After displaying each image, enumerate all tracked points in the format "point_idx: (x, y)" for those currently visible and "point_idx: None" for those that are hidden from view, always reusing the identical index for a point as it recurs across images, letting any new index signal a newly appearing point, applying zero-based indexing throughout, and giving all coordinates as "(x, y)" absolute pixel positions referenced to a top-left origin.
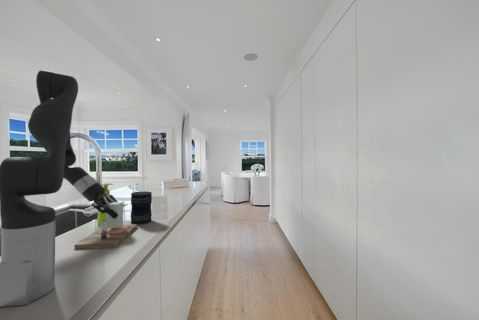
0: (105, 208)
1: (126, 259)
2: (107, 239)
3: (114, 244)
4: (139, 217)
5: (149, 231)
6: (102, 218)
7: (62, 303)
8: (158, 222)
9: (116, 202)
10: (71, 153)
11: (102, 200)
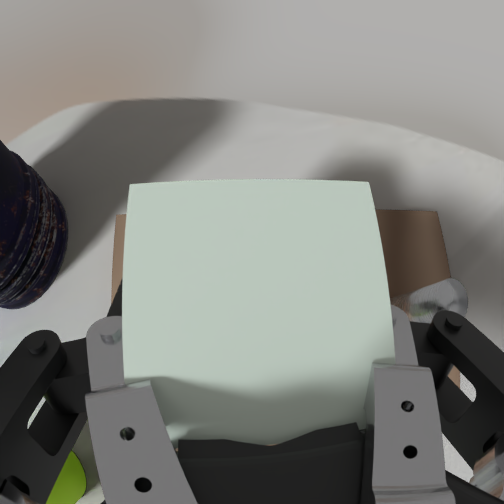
0: (473, 329)
1: (475, 154)
2: (406, 279)
3: (435, 220)
4: (44, 211)
5: (212, 129)
6: (63, 494)
7: None
8: (58, 138)
9: (176, 307)
10: None
11: (454, 494)
